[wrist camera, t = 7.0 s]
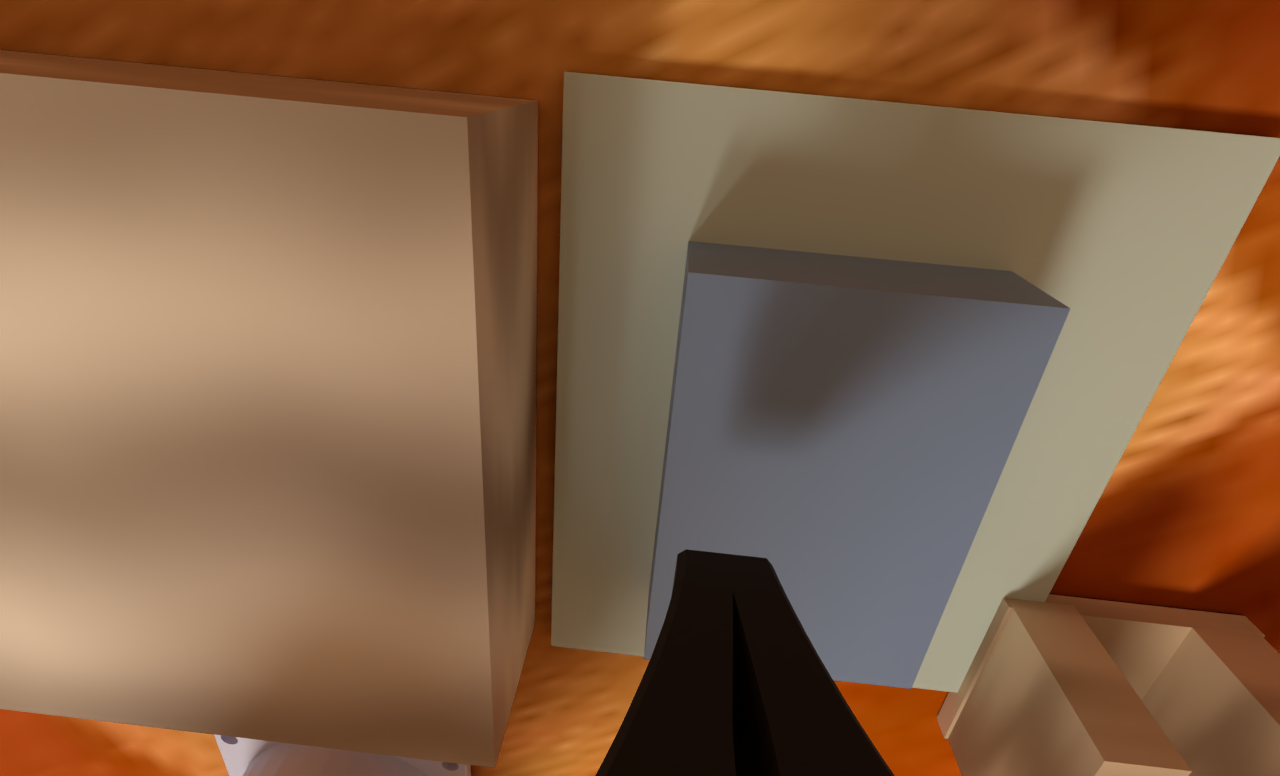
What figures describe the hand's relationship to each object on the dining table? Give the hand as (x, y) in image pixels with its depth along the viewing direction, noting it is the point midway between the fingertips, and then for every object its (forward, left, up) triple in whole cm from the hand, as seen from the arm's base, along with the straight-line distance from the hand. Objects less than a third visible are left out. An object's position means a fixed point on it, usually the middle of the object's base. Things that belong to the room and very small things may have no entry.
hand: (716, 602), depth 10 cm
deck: (0, +12, -5) cm, 13 cm away
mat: (0, -3, -5) cm, 6 cm away
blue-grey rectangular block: (0, -2, -3) cm, 3 cm away
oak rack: (-6, -11, -5) cm, 13 cm away
